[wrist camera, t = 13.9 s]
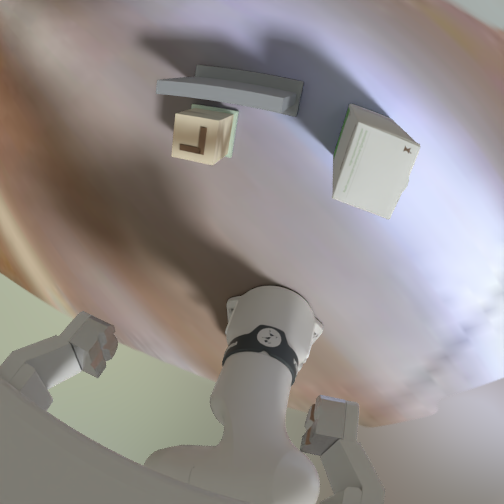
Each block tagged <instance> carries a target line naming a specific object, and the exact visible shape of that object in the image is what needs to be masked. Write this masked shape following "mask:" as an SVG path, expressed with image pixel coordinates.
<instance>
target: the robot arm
mask: <svg viewBox="0 0 504 504" xmlns="http://www.w3.org/2000/svg"><path fill="white" fill-rule="evenodd" d="M227 315H228V325H227V328H226V331H225V334H226V335H227V343H228V348H227V349H226V351H225V354H224V358H223V361H222V366H223V368H222V370H221V373H220V375H219V377H218V380H217V382H216V385H215V387H214V389H213V392H212V394H211V397H210V407H211V409H212V412H213V414H214V416H215V417H216V419H217V420H218V421H219V422H220V423H221V424H222V425H223V426H224V432H223V437H222V439H221V441H220V442H219V444H218V445H217V446H200V445H199V446H198V445H179V446H174V447H168V448H164V449H160V450H157V451H155V452H154V453H152V454H151V455H150V456H149V457H148V458H147V460H146V462H145V463H144V466H143V465H141V464H138V463H136V462H134V461H132V460H130V459H128V458H126V457H124V456H122V455H120V454H118V453H116V452H114V451H112V450H110V449H108V448H106V447H104V446H102V445H101V444H99V443H97V442H95V441H93V440H92V439H90V438H88V437H86V436H85V435H83V434H81V433H80V432H78V431H76V430H75V429H73V428H71V427H70V426H68V425H67V424H65V423H63V422H62V421H60V420H59V419H57V418H56V417H54V416H53V415H51V414H50V413H48V412H47V409H48V408H49V406H50V405H51V403H52V402H53V398H52V396H51V395H50V393H49V392H48V390H47V389H49V388H51V387H53V386H55V385H57V384H59V383H61V382H62V381H64V380H66V379H68V378H70V377H72V376H74V375H75V374H77V373H79V372H81V371H82V370H83V371H85V372H86V373H88V374H90V375H92V376H94V377H96V378H98V377H99V376H100V375H101V373H102V372H103V370H104V369H105V368H106V361H108V360H110V359H112V357H113V356H114V354H115V352H116V350H117V346H118V341H117V338H116V336H115V335H114V332H115V328H114V325H111V324H109V323H107V322H105V321H103V320H101V319H98V318H96V317H94V316H93V315H90V314H88V313H86V312H84V311H82V312H80V313H79V314H78V315H77V316H76V317H75V318H74V319H73V321H72V322H71V323H70V324H69V325H68V326H67V327H66V329H65V330H64V331H63V332H62V333H61V334H60V335H59V336H56V335H55V336H53V337H50V338H48V339H45V340H42V341H39V342H37V343H34V344H31V345H28V346H26V347H23V348H20V349H18V350H15V351H12V353H11V354H10V355H9V356H8V357H7V358H6V360H5V361H4V362H3V363H2V364H1V366H0V504H316V502H317V499H318V495H319V489H320V482H319V476H318V473H317V470H316V468H315V466H314V464H313V463H312V461H311V460H310V459H309V458H308V457H307V456H306V455H305V454H304V453H303V452H305V453H310V454H314V455H319V456H320V458H321V460H322V463H323V466H324V468H325V471H326V474H327V477H328V479H329V482H330V484H331V487H332V490H333V492H334V495H332V496H330V497H328V498H326V499H324V500H322V501H321V502H320V504H384V495H385V488H384V486H383V484H382V482H381V480H380V479H379V477H378V475H377V473H376V471H375V469H374V467H373V465H372V464H371V462H370V460H369V458H368V456H367V454H366V452H365V450H364V449H363V447H362V445H361V443H360V442H357V432H358V418H359V404H358V403H356V402H351V401H346V400H343V399H338V398H333V397H328V396H323V395H319V396H318V397H317V399H316V403H315V404H313V405H312V406H311V408H310V409H309V412H308V414H307V418H306V422H305V428H306V430H307V431H306V433H305V434H304V435H303V436H302V442H301V447H300V450H299V449H298V448H296V447H295V446H294V445H293V443H292V442H291V440H290V439H289V437H288V434H287V431H286V425H285V415H286V409H287V403H288V398H289V392H290V388H291V386H292V385H293V383H294V381H295V378H296V376H297V372H298V371H300V369H301V367H302V365H303V363H305V362H306V360H307V358H308V356H309V353H310V349H311V345H312V344H313V343H314V342H315V341H316V340H317V338H318V337H319V336H320V335H321V334H322V332H323V328H324V327H323V325H322V324H321V323H320V322H319V321H318V320H317V319H316V318H315V316H314V314H313V312H312V309H311V307H310V306H309V304H308V303H307V302H306V300H305V299H303V298H302V297H301V296H300V295H298V294H297V293H295V292H293V291H291V290H289V289H286V288H283V287H278V286H261V287H257V288H254V289H252V290H250V291H248V292H247V293H245V294H244V295H242V296H238V297H232V298H230V299H228V301H227ZM314 332H315V333H314Z"/></svg>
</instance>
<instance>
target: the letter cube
mask: <svg viewBox="0 0 504 504" xmlns="http://www.w3.org/2000/svg"><path fill="white" fill-rule="evenodd" d="M233 117H234V114H229V113H223V112H217V111H212V110H206V109H199V108H192V109H189V110H185V111H182V112H179V113H176V114H175V123H174V133H173V144H172V156H171V157H176V158H181V159H186V160H190V161H195V162H199V163H204V164H208V165H214V164H215V163H217V162H218V161H219V160H220V159H222V158H223V157H224V156H226V155H227V154H228V148H229V142H230V136H231V129H232V123H233Z"/></svg>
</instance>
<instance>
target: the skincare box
mask: <svg viewBox="0 0 504 504" xmlns="http://www.w3.org/2000/svg"><path fill="white" fill-rule="evenodd" d="M419 150H420V144H418V143H416V142H415V141H414V140H413V139H412V138H411V137H410V136H409V135H408V134H407V133H406V132H405V131H404V130H403V129H402V128H401V127H400V126H398V125H397V124H396V123H395V122H394V121H393V120H392V119H391V118H388V117H386V116H384V115H381V114H379V113H376V112H374V111H371V110H368V109H366V108H363V107H360V106H357V105H354V104H351V103H350V104H349V107H348V110H347V113H346V116H345V119H344V122H343V126H342V129H341V132H340V135H339V139H338V142H337V145H336V148H335V151H334V154H333V196H332V198H333V199H335V200H338V201H341V202H343V203H346V204H349V205H351V206H354V207H357V208H359V209H362V210H365V211H367V212H370V213H373V214H375V215H378V216H381V217H383V218H386V219H390V217H391V215H392V213H393V211H394V209H395V207H396V205H397V202H398V200H399V198H400V196H401V194H402V192H403V191H404V190H405V189H406V187H407V185H408V182H409V175H410V173H411V170H412V168H413V165H414V163H415V160H416V158H417V155H418V153H419Z"/></svg>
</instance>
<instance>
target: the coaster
mask: <svg viewBox="0 0 504 504" xmlns="http://www.w3.org/2000/svg"><path fill="white" fill-rule="evenodd" d="M192 108H199V109H206V110H212V111H217V112H223V113H229V114H234V117H233V123H232V129H231V136H230V142H229V148H228V154H227V155H226V156H225V157H229V158H231V157H232V151H233V145H234V139H235V132H236V126H237V120H238V114H239V111H236V110H230V109H225V108H219V107H213V106H206V105H199V104H192V106H191V109H192Z"/></svg>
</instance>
